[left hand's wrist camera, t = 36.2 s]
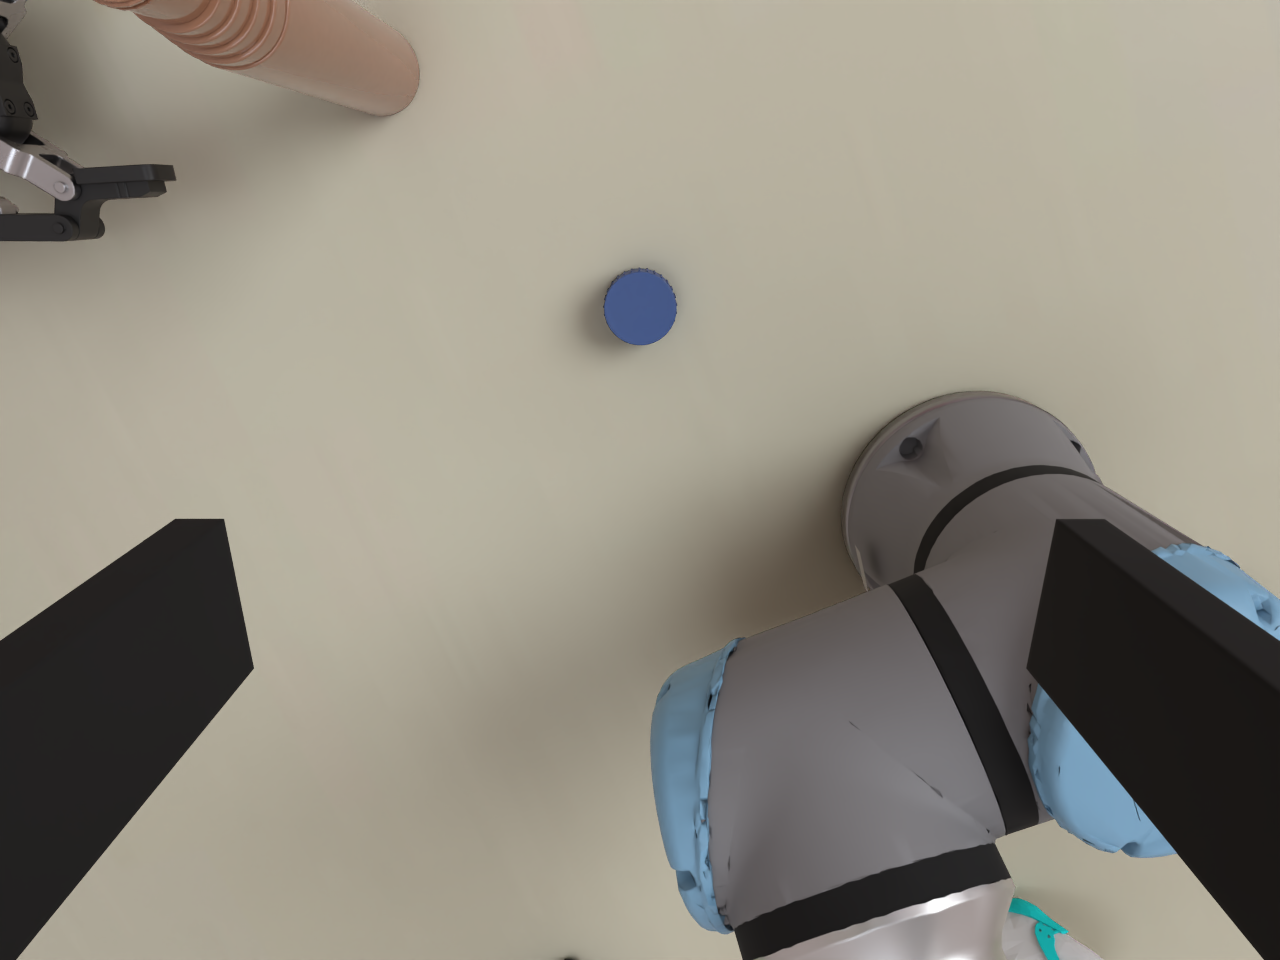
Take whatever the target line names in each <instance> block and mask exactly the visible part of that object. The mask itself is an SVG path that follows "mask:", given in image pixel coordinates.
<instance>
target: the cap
mask: <svg viewBox="0 0 1280 960" xmlns="http://www.w3.org/2000/svg"><path fill="white" fill-rule="evenodd" d="M607 292H608V293H607V295H606V296H605V299H604V300H605V303H604V306H603V308H604V316H605V318H606V321H607V324H608V326H609V328H610V330H611V331H612V332H613V333H614V334H615V335H616V336H617V337H618V338H620V339H621V340H623V341H625V342H627V343H630V344H634V345H647V344H651V343H654V342H656V341H658V340H659V339H661V338H662V337H664V336H665V335H666V334H667V333H668V331H669V330H670V329H671V327H672V325H673V323H674V321H675V316H676V314H677V312H676V306H677V303H676V300H675V298H676V296H675V294H674V293H673V289H672V286H670V285H669V283H668V280H665V279H664V278H663V277H662V275H659V274H658V273H656V272H655V271H651V270H648V268H646V269H640V268H639V269H631V270H629V271H627V272H625V271H624V273H623V274H621V275H620V276H617V278H616V279H615V280H614V282H613V281H612V283H611V286H610V288H608V290H607Z"/></svg>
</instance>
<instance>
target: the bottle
mask: <svg viewBox="0 0 1280 960" xmlns="http://www.w3.org/2000/svg"><path fill="white" fill-rule="evenodd" d="M93 1H95V2H97V3H99V4H102V5H106V6H108V7H110V8H115V9H119V10H124V11H126V10H129V11H132V12H133V13H134V14H135V15H136V16H137V17H139V18H140V19H141V20H142V21H144V22H145V23H147V24H148V25H150V26H151V27H153V28H154V29H155V30H156V31H158V32H159V33H160V34H162V35H163V36H165V37H166V38H167V39H168V40H170V41H171V42H172V43H174V44H175V45H177V46H178V47H179V48H181V49H182V50H183V51H185V52H186V53H188V54H189V55H191V56H193V57H195V58H197V59H199V60H201V61H203V62H205V63H206V64H209V65H211V66H213V67H216V68H220V69H223V70H226V71H230V72H233V73H236V74H240V75H243V76H246V77H249V78H253V79H256V80H259V81H263V82H266V83H269V84H273V85H276V86H279V87H283V88H286V89H289V90H293V91H296V92H299V93H302V94H306V95H309V96H312V97H316V98H319V99H322V100H326V101H329V102H332V103H336V104H339V105H342V106H345V107H349V108H352V109H355V110H359V111H362V112H365V113H369V114H372V115H377V116H388V115H392V114H395V113H398V112H400V111H401V110H403V109H404V108H405V107H406V106H407V105H408V104H409V103H410V102H411V101H412V99H413V98H414V96H415V94H416V91H417V88H418V84H419V66H418V61H417V58H416V55H415V53H414V51H413V49H412V47H411V45H410V44H409V42H408V41H407V40H406V39H405V38H404V37H403V36H402V35H401V34H400V33H399V32H398V31H396V30H395V29H393V28H392V27H390V26H389V25H387V24H386V23H385V22H383V21H382V20H380V19H379V18H377V17H376V16H374V15H373V14H371V13H370V12H368V11H367V10H365V9H364V8H362V7H361V6H359V5H358V4H356V3H355V2H354V1H352V0H93Z"/></svg>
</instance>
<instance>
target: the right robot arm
mask: <svg viewBox="0 0 1280 960" xmlns="http://www.w3.org/2000/svg"><path fill="white" fill-rule="evenodd" d="M26 1H27V0H0V169H1V170H3V171H5V172H7V173H9V174H12V175H15V176H19V177H21V178H24V179H26V180H27V181H29V182H30V183H32V184H34V185H35V186H37V187H39V188H40V189H42V190H44V191H45V192H47V193H48V194H50V195H52V196H53V197H55V212H54V213H18V211H19V209H18V207H17V206H16V205H15V204H12V203H11V202H10V201H9V200H8V199H7V198H4V197H1V196H0V241H74V240H86V239H97V238H100V237H102V236H103V235H104V232H105V226H104V223H103V221H102V220H101V219H100V218H99V214H100V208H101V205H102V204H103V203H104V202H105V201H107V200H111V199H128V198H145V197H158V196H160V195H162V194H164V193H166V192H167V191H166V187H165V183H164V181H176V177H175V173H174V169H173V165H158V164H144V165H127V166H110V167H93V168H84V167H82V166H81V165H79V164H78V163H76V162H74V161H73V160H71V159H70V158H68V157H67V153H66V152H64V151H63V150H61V149H60V148H58V147H57V146H55V145H53V144H52V143H50V142H49V141H47V140H45V139H44V138H42V137H41V136H39V135H37V134H36V133H34V132H33V131H31V129H32V120H38V118H37V114H36V111H35V108H34V104H33V101H32V100H31V98H30V96H29V94H28V92H27V90H26V88H25V87H24V84H23V74H22V63H21V60H20V57H19V53H18V50H17V47H15V46H11V45H10V44H9V43H8V41H7V40H6V39H7V38H8V36H9V35H10V34H11V33H12V31H13V30H14V29H15V28H16V26H17V25H18V24H19V22H20V21H21V20H22V19H23V17H24V16H25V14H26V9H25V7H24V4H25V2H26Z"/></svg>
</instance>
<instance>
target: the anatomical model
mask: <svg viewBox="0 0 1280 960" xmlns="http://www.w3.org/2000/svg"><path fill="white" fill-rule="evenodd" d="M1067 932H1069V931H1067V930H1066V929H1064V928H1063V927H1062V926H1060V925H1059V924H1057V923H1056V922H1054V921H1053V920H1052V919H1050V918H1049V917H1048V916H1047V915H1046V914H1044V913H1043V912H1042V911H1041V910H1040V909H1039V908H1038V907H1037V906H1035V905H1033V904H1031V903H1029V902H1027V901H1025V900H1022V899H1019V898H1012V901H1011V904H1010V907H1009V911H1008V914H1007V917H1006V921H1005V924H1004V927H1003V930H1002V949H1003V952H1004V954H1005V956H1006V958H1007V960H1103V959H1102V958H1101V957H1100V956H1098V955H1097V954H1096V953H1095V952H1094V951H1092V950H1091V949H1089V948H1088V947H1086V946H1085V945H1083V944H1082V943H1080V942H1078V941H1077V940H1075V939H1074V938H1072V937H1071V936H1069V935H1067V934H1066V933H1067Z"/></svg>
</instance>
